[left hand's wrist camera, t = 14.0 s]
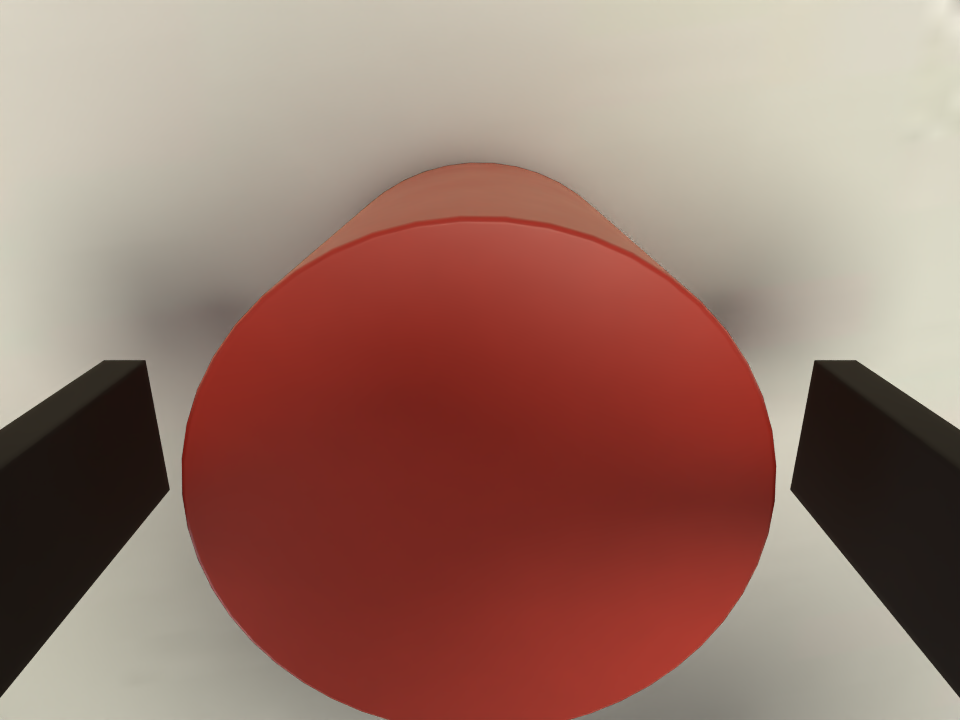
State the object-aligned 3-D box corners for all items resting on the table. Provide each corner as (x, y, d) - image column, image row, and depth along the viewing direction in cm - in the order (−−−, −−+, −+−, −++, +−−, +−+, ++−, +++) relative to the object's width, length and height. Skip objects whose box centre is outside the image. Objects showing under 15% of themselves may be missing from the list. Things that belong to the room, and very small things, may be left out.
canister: (646, 153, 17) (814, 197, 8) (636, 463, 20) (750, 723, 11) (295, 172, 17) (113, 235, 8) (339, 477, 20) (238, 744, 11)
